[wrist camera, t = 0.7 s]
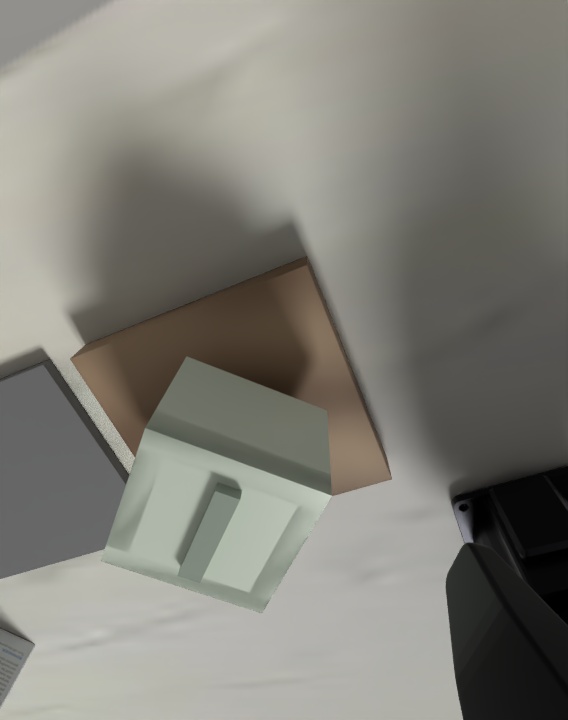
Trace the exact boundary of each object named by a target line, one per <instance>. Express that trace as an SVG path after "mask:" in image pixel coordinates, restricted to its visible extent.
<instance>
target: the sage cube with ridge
mask: <svg viewBox="0 0 568 720" xmlns="http://www.w3.org/2000/svg"><path fill="white" fill-rule="evenodd" d="M331 497H332V485H331V468H330V451H329V433H328V416H327V410H324V409H322V408H319V407H317V406H314V405H312V404H309V403H306V402H304V401H301V400H299V399H296V398H293V397H291V396H288V395H286V394H283V393H280V392H278V391H275V390H273V389H270V388H267V387H265V386H262V385H260V384H257V383H255V382H252V381H249V380H247V379H244V378H242V377H239V376H236V375H234V374H231V373H229V372H226V371H223V370H221V369H218V368H216V367H213V366H211V365H208V364H205V363H203V362H200V361H198V360H195V359H192V358H190V357H187V356H186V358H185V360H184V362H183V363H182V365H181V367H180V369H179V370H178V372H177V374H176V375H175V377H174V379H173V381H172V382H171V384H170V386H169V388H168V389H167V391H166V393H165V395H164V396H163V398H162V400H161V401H160V403H159V405H158V407H157V408H156V410H155V412H154V414H153V415H152V417H151V419H150V420H149V422H148V424H147V426H146V427H145V430H144V433H143V436H142V439H141V442H140V445H139V448H138V451H137V454H136V457H135V460H134V463H133V466H132V469H131V472H130V475H129V478H128V481H127V484H126V487H125V490H124V493H123V496H122V499H121V502H120V505H119V508H118V511H117V514H116V517H115V520H114V523H113V526H112V529H111V532H110V535H109V538H108V541H107V544H106V547H105V550H104V552H103V555H102V558H101V561H102V562H105V563H108V564H111V565H114V566H117V567H120V568H124V569H127V570H130V571H133V572H136V573H139V574H142V575H145V576H148V577H151V578H154V579H158V580H161V581H164V582H167V583H170V584H173V585H176V586H179V587H182V588H185V589H188V590H191V591H195V592H198V593H201V594H204V595H207V596H210V597H213V598H216V599H219V600H222V601H225V602H229V603H232V604H235V605H238V606H241V607H244V608H247V609H250V610H253V611H256V612H259V613H262V612H263V611H264V609H265V607H266V606H267V604H268V602H269V601H270V599H271V597H272V595H273V594H274V592H275V590H276V589H277V587H278V585H279V584H280V582H281V580H282V579H283V577H284V575H285V574H286V572H287V570H288V569H289V567H290V565H291V564H292V562H293V560H294V559H295V557H296V555H297V554H298V552H299V550H300V549H301V547H302V545H303V544H304V542H305V540H306V539H307V537H308V535H309V534H310V532H311V530H312V529H313V527H314V525H315V524H316V522H317V520H318V519H319V517H320V515H321V514H322V512H323V510H324V509H325V507H326V505H327V504H328V502H329V500H330V499H331Z"/></svg>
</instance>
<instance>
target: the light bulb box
mask: <svg viewBox="0 0 568 720" xmlns="http://www.w3.org/2000/svg"><path fill="white" fill-rule="evenodd" d="M34 647H35V645H34V644H33V643H31V642H29V641H27V640H25V639H22V638H20V637H18V636H16V635H14V634H11V633H9V632H7V631H5V630H3V629H1V628H0V708H1V707H2V705H3V703H4V701H5V699H6V698H7V696H8V694H9V692H10V690H11V688H12V687H13V685H14V683H15V681H16V679H17V678H18V676H19V674H20V672H21V670H22V668H23V667H24V665H25V663H26V661H27V659H28V658H29V656H30V654H31V653H32V651H33V649H34Z"/></svg>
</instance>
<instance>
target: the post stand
mask: <svg viewBox="0 0 568 720" xmlns="http://www.w3.org/2000/svg"><path fill="white" fill-rule="evenodd" d="M186 356H187V357H190V358H192V359H195V360H198V361H200V362H203V363H205V364H208V365H211V366H213V367H216V368H218V369H221V370H223V371H226V372H229V373H231V374H234V375H236V376H239V377H242V378H244V379H247V380H249V381H252V382H255V383H257V384H260V385H262V386H265V387H267V388H270V389H273V390H275V391H278V392H280V393H283V394H286V395H288V396H291V397H293V398H296V399H299V400H301V401H304V402H306V403H309V404H312V405H314V406H317V407H319V408H322V409H324V410H327V416H328V433H329V451H330V468H331V485H332V496H334V495H338V494H341V493H345V492H348V491H352V490H355V489H359V488H362V487H366V486H370V485H373V484H377V483H380V482H384V481H387V480H391V479H392V477H391V473H390V469H389V465H388V461H387V458H386V455H385V453H384V450H383V447H382V445H381V442H380V440H379V437H378V435H377V432H376V430H375V427H374V425H373V422H372V420H371V417H370V414H369V412H368V409H367V407H366V404H365V402H364V399H363V397H362V394H361V392H360V389H359V387H358V384H357V382H356V379H355V376H354V374H353V371H352V369H351V366H350V364H349V361H348V359H347V356H346V354H345V351H344V349H343V346H342V343H341V341H340V338H339V336H338V333H337V331H336V328H335V326H334V323H333V321H332V318H331V316H330V313H329V311H328V308H327V305H326V303H325V300H324V298H323V295H322V293H321V290H320V288H319V285H318V283H317V280H316V278H315V275H314V273H313V270H312V267H311V265H310V262H309V260H308V257H307V256H306V257H304V258H301V259H299V260H296V261H294V262H291V263H289V264H286V265H284V266H281V267H279V268H276V269H274V270H271V271H269V272H266V273H264V274H261V275H259V276H256V277H254V278H251V279H249V280H246V281H244V282H241V283H239V284H236V285H234V286H231V287H229V288H226V289H224V290H222V291H219V292H217V293H214V294H212V295H209V296H207V297H204V298H202V299H199V300H197V301H194V302H192V303H189V304H187V305H184V306H182V307H179V308H177V309H174V310H172V311H169V312H167V313H164V314H162V315H159V316H157V317H154V318H152V319H149V320H147V321H144V322H142V323H139V324H137V325H134V326H132V327H129V328H127V329H124V330H122V331H119V332H117V333H114V334H112V335H109V336H107V337H104V338H102V339H99V340H97V341H94V342H92V343H89V344H87V345H85V346H84V347H83V348H81V349H80V350H79V351H78V352H77V353H76V354H75V355H74V356H73V357H72V358H70V360H71V361H72V363H73V364H74V366H75V367H76V369H77V370H78V372H79V373H80V375H81V376H82V378H83V379H84V381H85V382H86V384H87V385H88V387H89V388H90V390H91V391H92V393H93V394H94V396H95V398H96V399H97V401H98V402H99V404H100V405H101V407H102V408H103V410H104V411H105V413H106V414H107V416H108V417H109V419H110V420H111V422H112V423H113V425H114V426H115V428H116V429H117V431H118V432H119V434H120V435H121V437H122V438H123V440H124V441H125V443H126V444H127V446H128V447H129V449H130V451H131V452H132V454H133V455H134V457H136V454H137V451H138V448H139V445H140V442H141V439H142V436H143V433H144V430H145V427H146V426H147V424H148V422H149V420H150V419H151V417H152V415H153V414H154V412H155V410H156V408H157V407H158V405H159V403H160V401H161V400H162V398H163V396H164V395H165V393H166V391H167V389H168V388H169V386H170V384H171V382H172V381H173V379H174V377H175V375H176V374H177V372H178V370H179V369H180V367H181V365H182V363H183V362H184V360H185V358H186Z"/></svg>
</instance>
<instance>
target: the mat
mask: <svg viewBox="0 0 568 720" xmlns="http://www.w3.org/2000/svg"><path fill="white" fill-rule="evenodd" d="M128 478H129V475H128V473H127V472H126V471H125V469H124V468H123V466H122V465H121V463H120V462H119V460H118V459H117V457H116V456H115V454H114V453H113V451H112V450H111V448H110V447H109V445H108V444H107V443H106V441H105V440H104V438H103V437H102V435H101V434H100V432H99V431H98V429H97V428H96V426H95V425H94V423H93V422H92V420H91V419H90V418H89V416H88V415H87V413H86V412H85V410H84V409H83V407H82V406H81V404H80V403H79V401H78V400H77V398H76V397H75V395H74V394H73V393H72V391H71V390H70V388H69V387H68V385H67V384H66V382H65V381H64V379H63V378H62V376H61V375H60V373H59V372H58V370H57V369H56V368H55V366H54V365H53V363H52V362H51V360H50V359H49V360H47V361H44V362H42V363H39V364H37V365H34V366H32V367H29V368H27V369H24V370H22V371H19V372H17V373H14V374H12V375H9V376H7V377H4V378H2V379H0V579H2V578H5V577H9V576H12V575H16V574H19V573H23V572H26V571H30V570H33V569H37V568H40V567H44V566H47V565H51V564H54V563H57V562H61V561H64V560H68V559H71V558H75V557H78V556H82V555H85V554H89V553H92V552H96V551H99V550H103V549H105V547H106V544H107V541H108V538H109V535H110V532H111V529H112V526H113V523H114V520H115V517H116V514H117V511H118V508H119V505H120V502H121V499H122V496H123V493H124V490H125V487H126V484H127V481H128Z"/></svg>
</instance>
